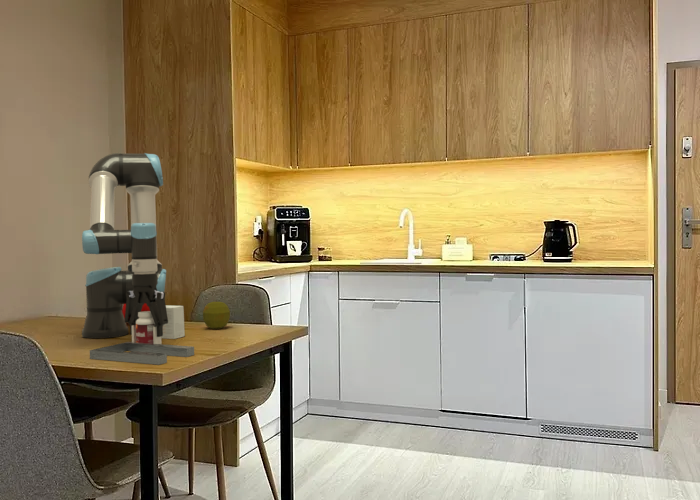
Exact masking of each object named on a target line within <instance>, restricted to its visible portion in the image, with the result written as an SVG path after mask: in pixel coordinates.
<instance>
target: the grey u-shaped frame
mask: <svg viewBox="0 0 700 500" xmlns="http://www.w3.org/2000/svg"><path fill="white" fill-rule="evenodd" d="M168 356H169V357H182V358H188V357H192V356H195V347H194V346H192V345H189V346H188V345H178V344H177V345H175V344H163V343H162V344H150V343H136V342H132V341H125V342H121V343H117V344H113V345H107V346H103V347H99V348H94V349H90V350H89V359H90V360H102V361H113V362H121V363H122V362H125V363H135V364H145V365H154V366H155V365H157V366H159V365H162V364H163V365H164V364H166V363H168Z"/></svg>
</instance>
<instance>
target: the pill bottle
mask: <svg viewBox="0 0 700 500" xmlns="http://www.w3.org/2000/svg"><path fill="white" fill-rule="evenodd" d="M138 317H139V319H137V320H136V343H150V344H154V341H153V327H154V325H155V323H154V320H153V317H152V315H151V312H150V311H142V312H138Z"/></svg>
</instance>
